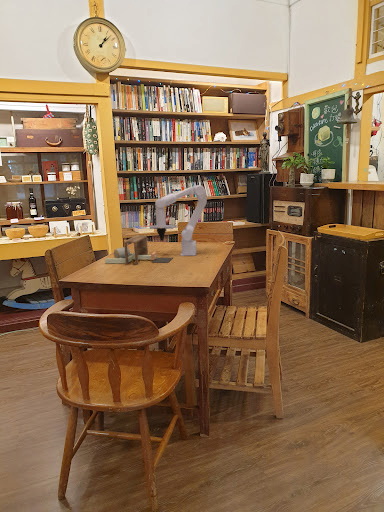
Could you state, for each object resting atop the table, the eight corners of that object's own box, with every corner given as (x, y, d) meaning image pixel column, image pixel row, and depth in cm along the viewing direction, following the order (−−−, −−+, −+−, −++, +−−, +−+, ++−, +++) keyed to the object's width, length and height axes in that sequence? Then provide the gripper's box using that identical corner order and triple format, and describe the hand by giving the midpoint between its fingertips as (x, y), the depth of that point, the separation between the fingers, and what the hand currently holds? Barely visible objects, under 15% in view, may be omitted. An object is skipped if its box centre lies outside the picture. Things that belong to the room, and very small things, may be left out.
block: (159, 256, 226) (159, 250, 225) (152, 263, 210) (151, 256, 209) (115, 256, 231) (115, 250, 230) (105, 263, 215) (104, 256, 214)
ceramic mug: (113, 259, 224) (112, 247, 223) (125, 257, 229) (124, 245, 227) (121, 262, 216) (120, 250, 214) (133, 260, 221) (132, 248, 219)
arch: (148, 256, 230) (146, 235, 227) (137, 264, 209) (135, 241, 206) (137, 256, 231) (135, 235, 228) (125, 264, 210) (123, 241, 208)
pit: (172, 258, 222) (172, 257, 222) (168, 262, 211) (168, 262, 211) (156, 258, 224) (156, 257, 224) (151, 262, 213) (151, 262, 212)
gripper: (173, 217, 228) (174, 239, 231) (151, 218, 231) (152, 239, 233) (171, 218, 221) (172, 241, 224) (148, 219, 224) (149, 241, 227)
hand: (162, 240), depth 228 cm, fingers closed
